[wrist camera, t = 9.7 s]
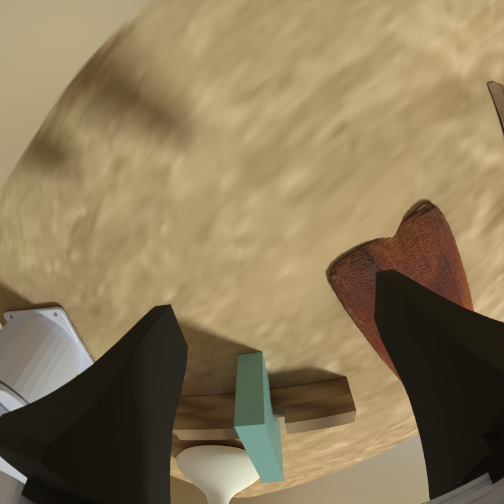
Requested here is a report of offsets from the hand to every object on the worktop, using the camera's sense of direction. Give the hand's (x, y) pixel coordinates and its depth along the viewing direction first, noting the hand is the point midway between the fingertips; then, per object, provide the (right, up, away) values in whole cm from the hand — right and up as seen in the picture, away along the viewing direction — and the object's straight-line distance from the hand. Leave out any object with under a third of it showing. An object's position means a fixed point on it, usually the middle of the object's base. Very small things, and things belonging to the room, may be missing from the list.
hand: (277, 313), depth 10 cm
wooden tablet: (+16, -6, +14) cm, 22 cm away
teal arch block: (0, -11, +16) cm, 20 cm away
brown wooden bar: (0, -11, +16) cm, 20 cm away
